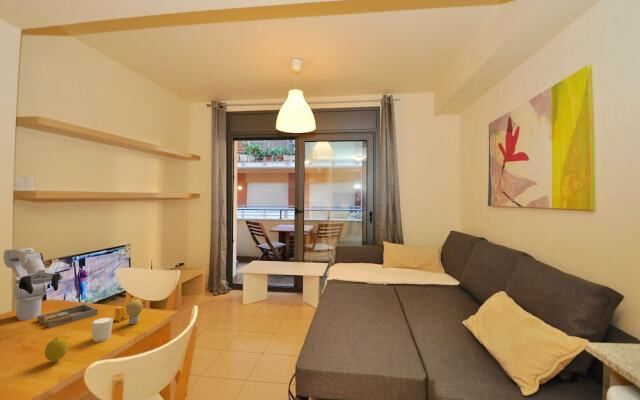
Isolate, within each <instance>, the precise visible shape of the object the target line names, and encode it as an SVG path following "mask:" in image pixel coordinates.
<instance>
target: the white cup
mask: <svg viewBox="0 0 640 400" xmlns="http://www.w3.org/2000/svg"><path fill="white" fill-rule="evenodd" d="M113 322H114V318H113V317H111V316H107V317H106V316H105V317H100V318H96V319H94V320H92V321H91V332H92V333H91V335H92V342H95V343H96V342H97V343H98V342H103V341H107V340H109V339H110V338H111V336H112V330H113Z"/></svg>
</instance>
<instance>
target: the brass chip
mask: <svg viewBox="0 0 640 400" xmlns="http://www.w3.org/2000/svg"><path fill="white" fill-rule="evenodd" d="M56 318H58V316H56V315H50V316H46V317H44V318H43V323H44V324H46V321H48V320H52V319H56Z"/></svg>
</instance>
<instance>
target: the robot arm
mask: <svg viewBox="0 0 640 400" xmlns="http://www.w3.org/2000/svg"><path fill="white" fill-rule="evenodd" d="M3 262H4V265H5V267H6V268H9V269H12V272H14V274H15V278H14V281H13V282H14V285H13V297H14V299H15V300H16V301H17V302H16V306H15V307H16V308H15V309H16V310H15V317H17V320H20V321H26V320H32V319H36V318H38V316H40V315H42V298H44V296H45V295H47V293H48V282H50V286H51V287H52V288H53V291H55V292H57V291H58V289H59V282H60V281H61V280H62V281H63V276H64V275H63V273H55V272H49V271H47V269H46V267H45V264H44V255H43V252H37V253H36V252H35V250H34V248H32V247H25V248H24V247H23V248H15V249H14V248H13V249H12V248H11V249H5V250H4V252H3Z"/></svg>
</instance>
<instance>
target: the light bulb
mask: <svg viewBox="0 0 640 400" xmlns="http://www.w3.org/2000/svg"><path fill="white" fill-rule="evenodd" d="M143 309H144V304H143V301H142V302H141V301H138V300H137V299H134V300H131V301H129V302H128V303H127V304H126V306H125V310H126V312H127V314H128V315H129V317H128V318H129V319H128V324H129V325H136V324H138V323H139V321H140V315H139V314H140V313H141V312H142V310H143Z"/></svg>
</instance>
